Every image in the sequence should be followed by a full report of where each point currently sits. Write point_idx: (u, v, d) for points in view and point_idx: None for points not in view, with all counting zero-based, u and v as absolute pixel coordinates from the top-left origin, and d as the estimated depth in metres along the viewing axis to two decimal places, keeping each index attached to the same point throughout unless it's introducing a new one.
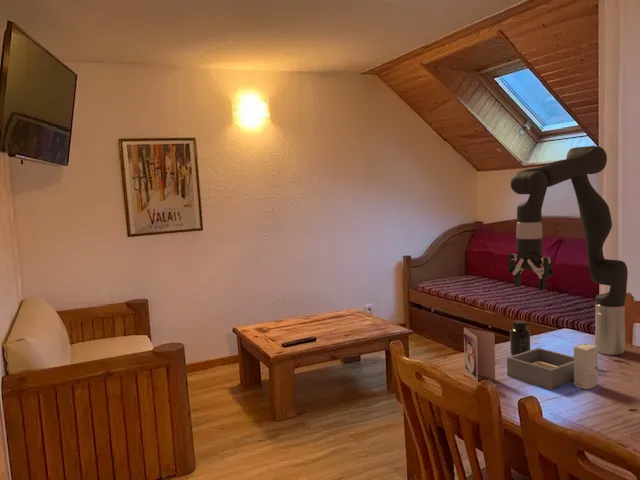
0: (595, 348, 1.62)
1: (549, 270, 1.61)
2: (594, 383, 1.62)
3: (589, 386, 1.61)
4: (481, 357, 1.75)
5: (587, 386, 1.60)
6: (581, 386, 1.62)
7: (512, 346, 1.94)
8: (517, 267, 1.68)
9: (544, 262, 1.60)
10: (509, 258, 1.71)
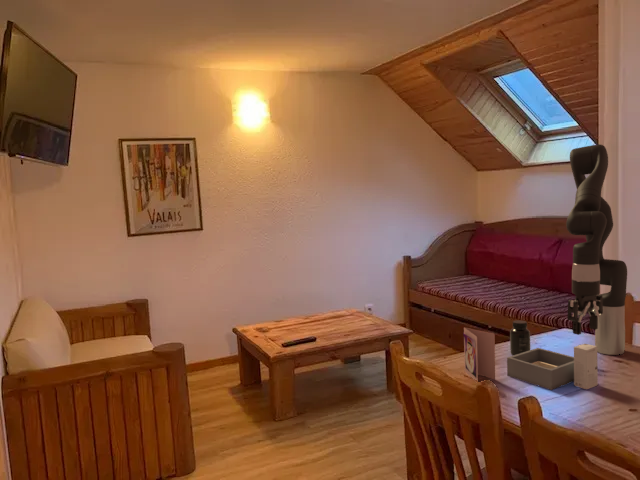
0: (595, 348, 1.62)
1: None
2: (594, 383, 1.62)
3: (589, 386, 1.61)
4: (481, 357, 1.75)
5: (587, 386, 1.60)
6: (581, 386, 1.62)
7: (512, 346, 1.94)
8: (584, 312, 1.58)
9: (600, 300, 1.63)
10: (576, 305, 1.57)
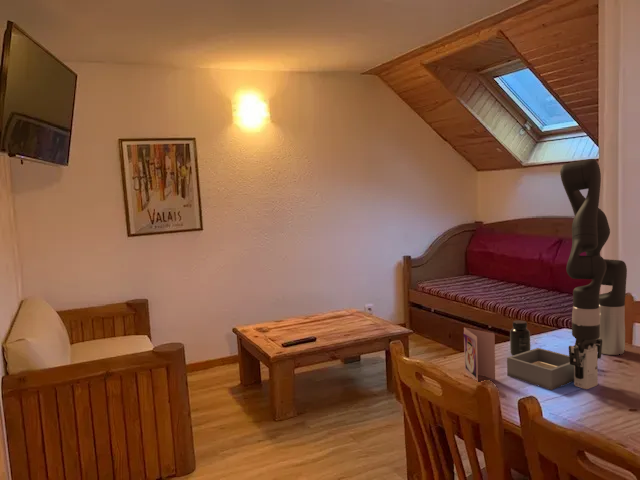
0: (595, 348, 1.62)
1: None
2: (594, 383, 1.62)
3: (589, 386, 1.61)
4: (481, 357, 1.75)
5: (587, 386, 1.60)
6: (581, 386, 1.62)
7: (512, 346, 1.94)
8: None
9: (600, 344, 1.65)
10: (577, 352, 1.58)
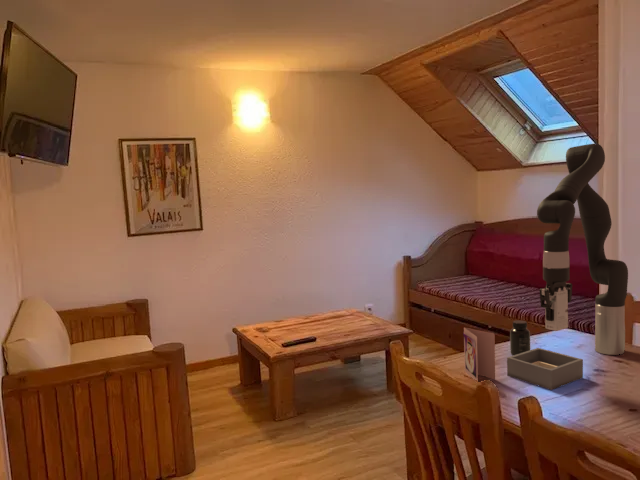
0: (565, 291, 1.66)
1: None
2: (564, 325, 1.66)
3: (560, 328, 1.65)
4: (481, 357, 1.75)
5: (558, 327, 1.65)
6: (552, 328, 1.66)
7: (512, 346, 1.94)
8: None
9: (570, 288, 1.69)
10: (547, 294, 1.62)
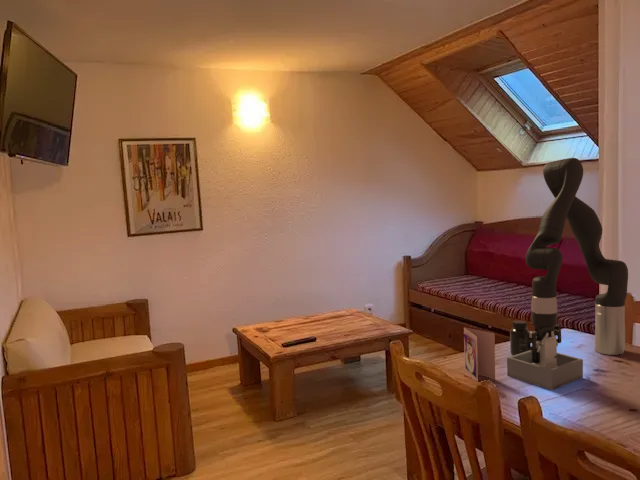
0: (554, 338, 1.71)
1: None
2: None
3: None
4: (481, 357, 1.75)
5: None
6: None
7: (512, 346, 1.94)
8: (543, 343, 1.68)
9: (559, 329, 1.73)
10: (534, 336, 1.66)
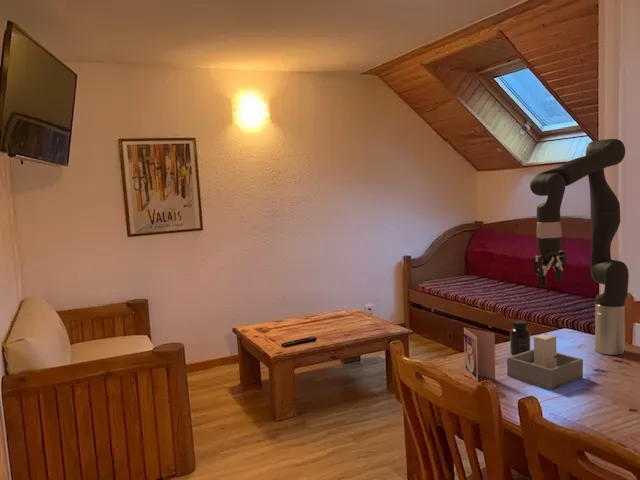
0: (554, 338, 1.71)
1: None
2: None
3: None
4: (481, 357, 1.75)
5: None
6: None
7: (512, 346, 1.94)
8: (549, 266, 1.73)
9: (564, 255, 1.78)
10: (541, 260, 1.71)
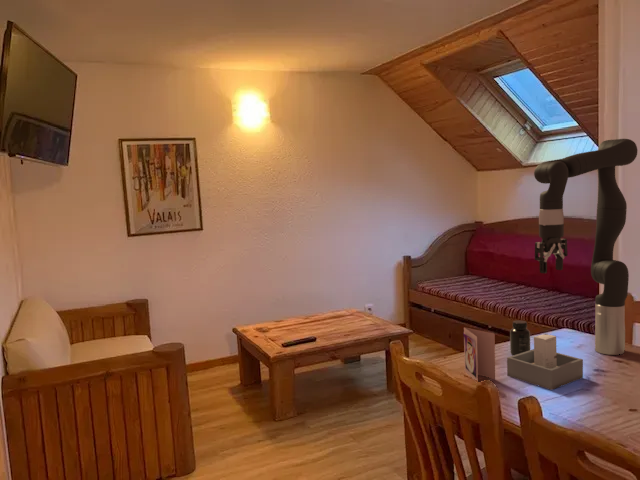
0: (554, 338, 1.71)
1: None
2: None
3: None
4: (481, 357, 1.75)
5: None
6: None
7: (512, 346, 1.94)
8: (550, 253, 1.75)
9: (565, 243, 1.80)
10: (542, 246, 1.74)
